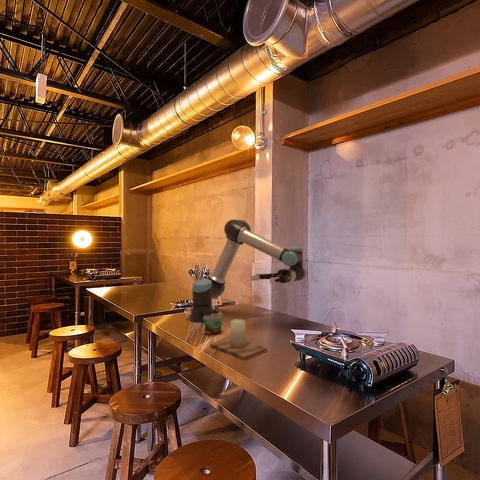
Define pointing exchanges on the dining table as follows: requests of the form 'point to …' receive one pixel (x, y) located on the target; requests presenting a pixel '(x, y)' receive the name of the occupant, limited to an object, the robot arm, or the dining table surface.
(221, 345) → the walnut board
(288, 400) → the dining table surface
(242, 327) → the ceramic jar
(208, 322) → the food container
